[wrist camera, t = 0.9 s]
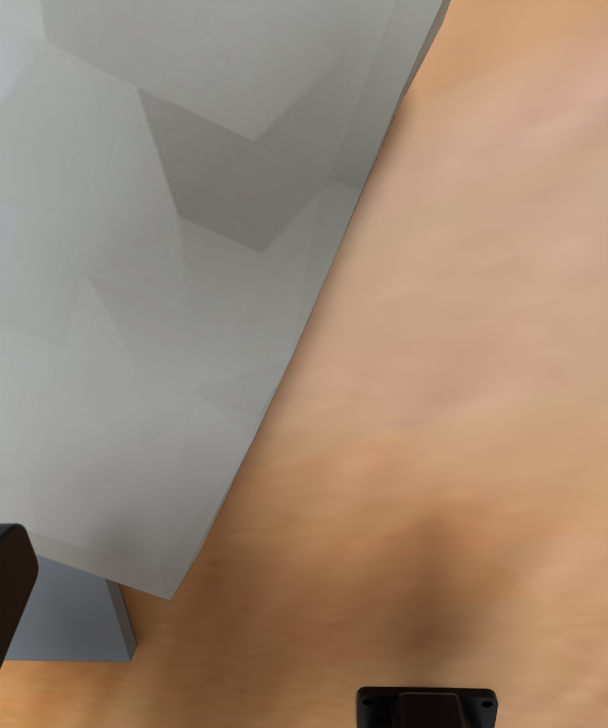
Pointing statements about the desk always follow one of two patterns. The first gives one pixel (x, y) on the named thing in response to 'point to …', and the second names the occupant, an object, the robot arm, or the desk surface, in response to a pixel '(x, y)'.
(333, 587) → the desk surface
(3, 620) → the robot arm
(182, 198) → the light grey block
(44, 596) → the mat
